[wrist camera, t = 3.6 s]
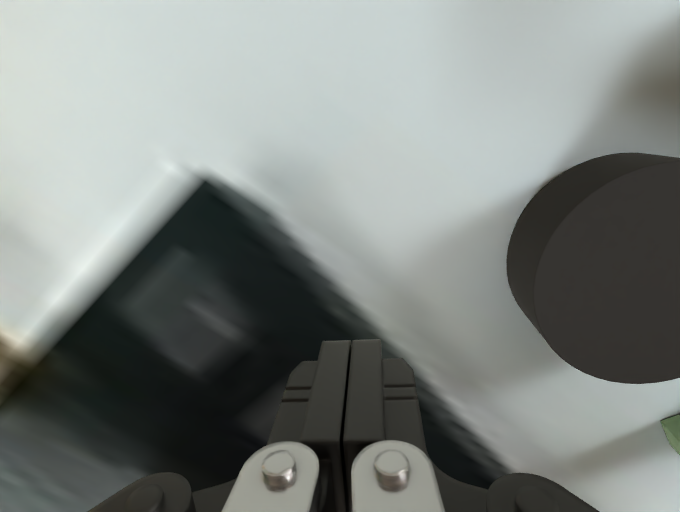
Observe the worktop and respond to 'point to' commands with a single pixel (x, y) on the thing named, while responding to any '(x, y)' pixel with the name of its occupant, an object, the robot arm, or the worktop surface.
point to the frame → (672, 431)
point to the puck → (605, 266)
